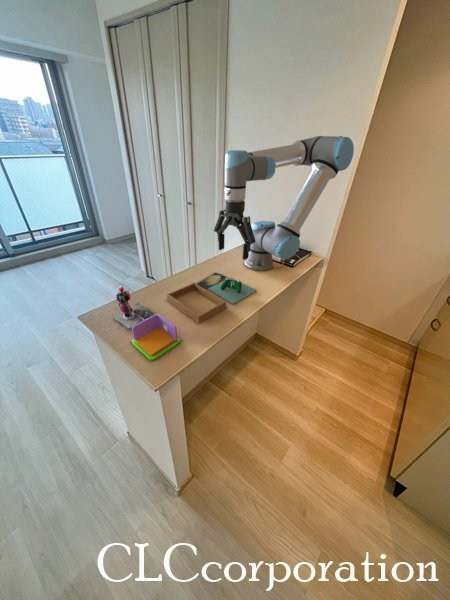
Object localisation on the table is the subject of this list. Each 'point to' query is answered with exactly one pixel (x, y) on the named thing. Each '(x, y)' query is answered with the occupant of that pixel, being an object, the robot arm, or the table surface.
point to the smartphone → (211, 280)
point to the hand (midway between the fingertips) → (232, 253)
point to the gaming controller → (232, 284)
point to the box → (204, 292)
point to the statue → (130, 310)
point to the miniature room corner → (154, 336)
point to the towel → (231, 292)
